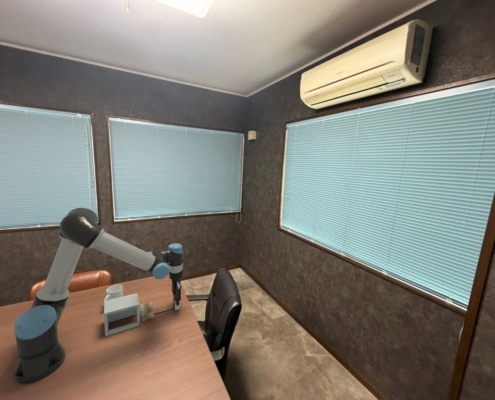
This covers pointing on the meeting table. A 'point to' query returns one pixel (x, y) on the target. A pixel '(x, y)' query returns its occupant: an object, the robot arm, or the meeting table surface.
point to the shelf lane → (121, 312)
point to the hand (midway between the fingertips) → (176, 307)
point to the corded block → (151, 310)
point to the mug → (114, 292)
